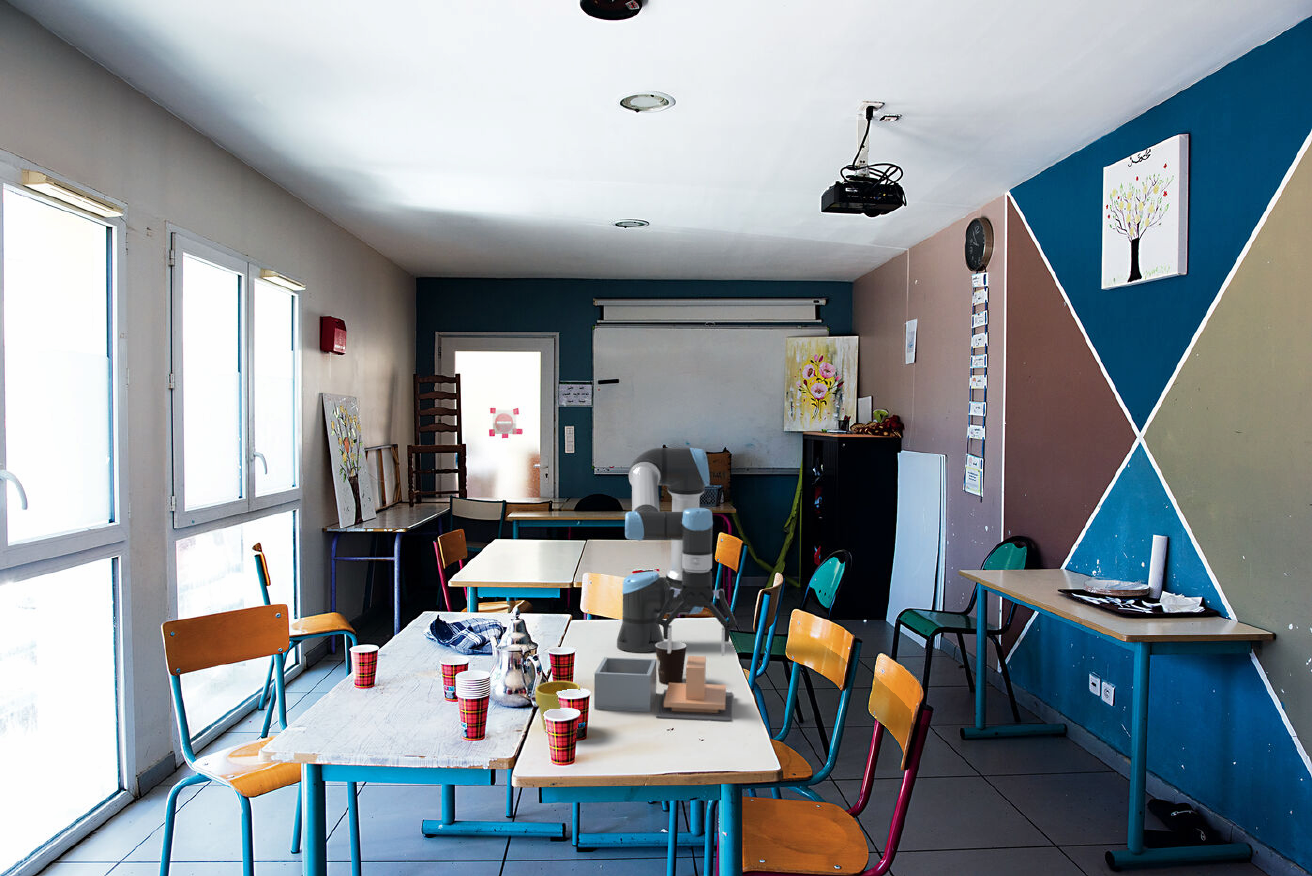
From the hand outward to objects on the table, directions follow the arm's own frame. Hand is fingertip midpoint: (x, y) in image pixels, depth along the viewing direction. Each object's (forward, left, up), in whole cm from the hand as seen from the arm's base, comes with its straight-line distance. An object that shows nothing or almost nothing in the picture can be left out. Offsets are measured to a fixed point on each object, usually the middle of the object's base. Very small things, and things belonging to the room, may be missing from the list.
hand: (696, 653), depth 204 cm
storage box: (-1, -18, -13) cm, 22 cm away
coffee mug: (-20, -8, -13) cm, 25 cm away
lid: (0, 0, -13) cm, 13 cm away
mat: (0, 0, -13) cm, 13 cm away
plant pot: (+20, -31, -13) cm, 39 cm away
